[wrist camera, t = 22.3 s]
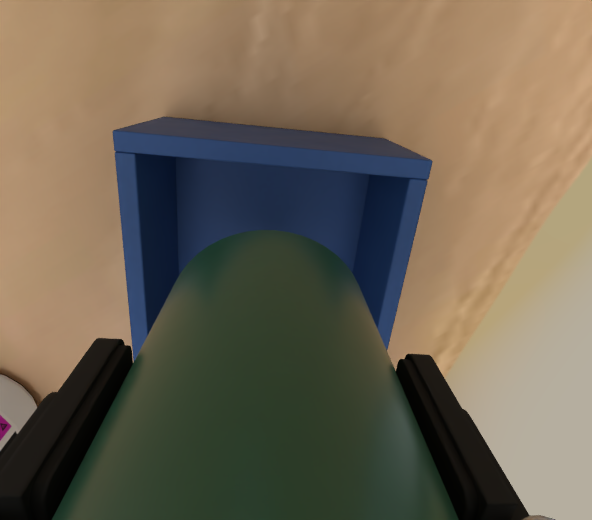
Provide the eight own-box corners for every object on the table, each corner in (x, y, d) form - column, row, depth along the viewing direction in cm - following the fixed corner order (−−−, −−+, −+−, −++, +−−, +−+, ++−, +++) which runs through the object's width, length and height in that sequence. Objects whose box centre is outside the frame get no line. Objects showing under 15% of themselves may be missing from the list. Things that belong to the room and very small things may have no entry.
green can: (165, 220, 11) (-422, 918, 2) (380, 237, 12) (809, 841, 2) (171, 391, 14) (-53, 1046, 4) (348, 398, 15) (488, 996, 5)
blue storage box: (163, 116, 21) (111, 129, 14) (386, 138, 22) (433, 160, 16) (173, 380, 29) (143, 469, 22) (339, 387, 30) (358, 473, 23)
